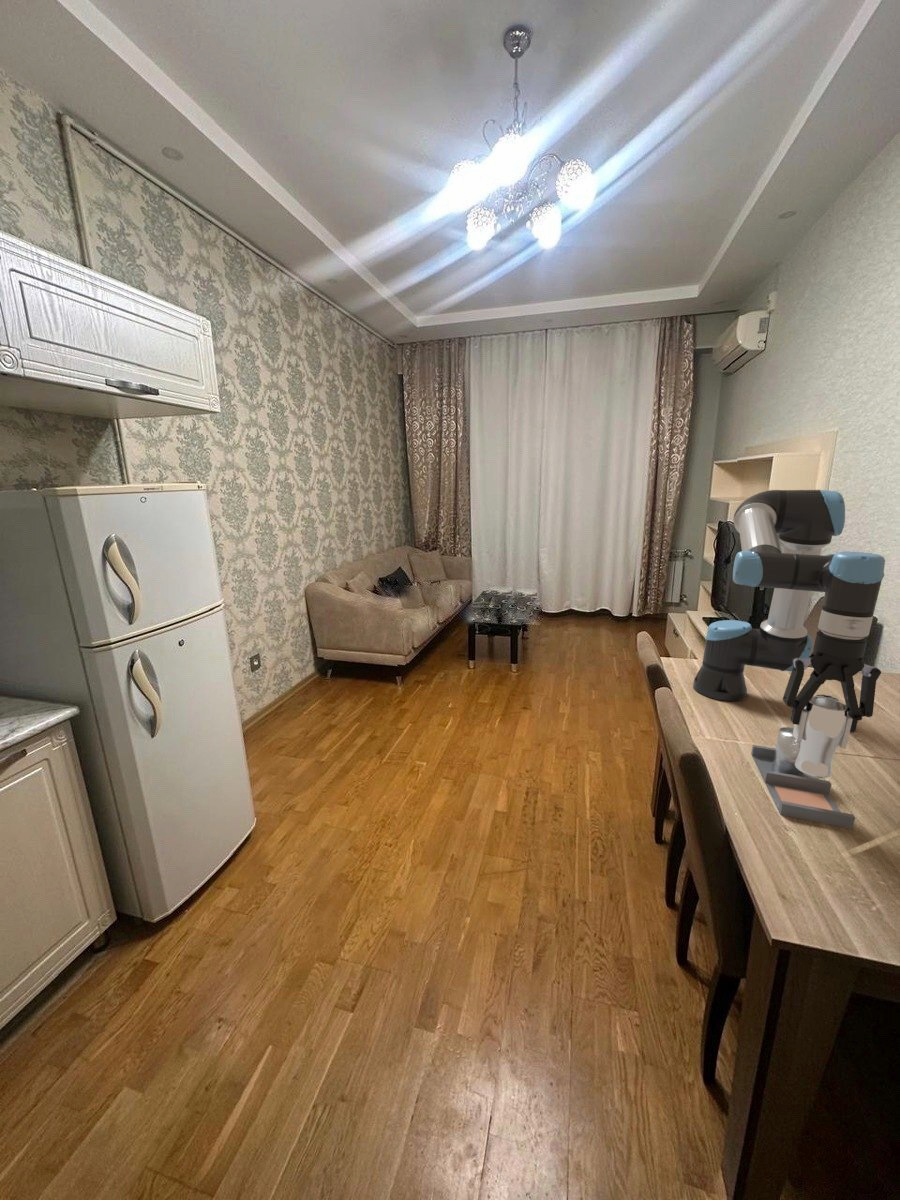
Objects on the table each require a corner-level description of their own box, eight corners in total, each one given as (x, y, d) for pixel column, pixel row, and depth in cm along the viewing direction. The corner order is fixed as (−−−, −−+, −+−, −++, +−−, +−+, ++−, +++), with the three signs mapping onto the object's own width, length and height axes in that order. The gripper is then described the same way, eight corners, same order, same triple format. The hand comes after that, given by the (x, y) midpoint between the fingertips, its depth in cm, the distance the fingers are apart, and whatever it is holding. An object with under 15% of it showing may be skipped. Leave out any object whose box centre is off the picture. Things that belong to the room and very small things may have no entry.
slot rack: (750, 756, 116) (752, 744, 115) (808, 766, 112) (810, 754, 111) (779, 817, 95) (782, 803, 94) (851, 832, 91) (855, 817, 90)
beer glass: (784, 764, 98) (797, 698, 94) (804, 756, 100) (818, 692, 97) (820, 783, 92) (836, 714, 88) (841, 774, 94) (857, 707, 91)
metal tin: (765, 768, 110) (773, 730, 107) (783, 762, 112) (791, 725, 109) (791, 783, 104) (800, 743, 102) (809, 777, 106) (818, 738, 104)
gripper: (788, 634, 89) (767, 742, 94) (918, 646, 82) (888, 761, 88) (775, 623, 95) (757, 724, 101) (895, 633, 89) (868, 741, 95)
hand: (818, 741), depth 95 cm, fingers closed on beer glass, 7 cm apart
